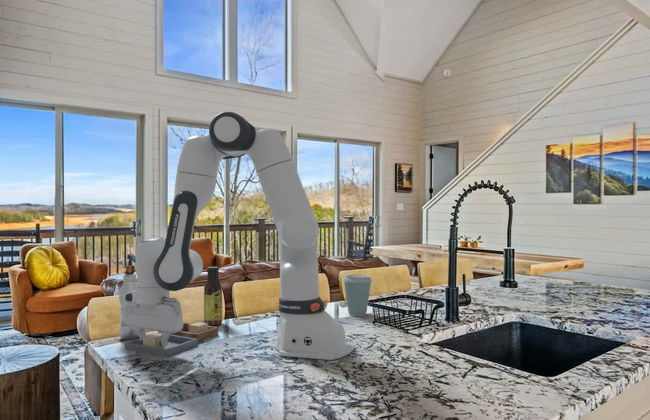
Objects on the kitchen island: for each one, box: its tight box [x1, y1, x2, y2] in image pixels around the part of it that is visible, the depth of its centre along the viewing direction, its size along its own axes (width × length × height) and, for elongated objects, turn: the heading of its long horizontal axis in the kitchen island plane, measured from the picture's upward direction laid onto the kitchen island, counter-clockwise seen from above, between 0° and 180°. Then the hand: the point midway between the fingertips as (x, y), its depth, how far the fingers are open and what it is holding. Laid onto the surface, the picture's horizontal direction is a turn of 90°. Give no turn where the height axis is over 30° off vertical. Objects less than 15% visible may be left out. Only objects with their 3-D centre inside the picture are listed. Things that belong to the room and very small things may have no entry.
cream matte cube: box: [189, 321, 209, 334], centre depth 141 cm, size 4×4×4 cm
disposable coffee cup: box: [343, 273, 372, 317], centre depth 171 cm, size 11×11×15 cm
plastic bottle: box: [118, 273, 140, 341], centre depth 142 cm, size 6×7×20 cm
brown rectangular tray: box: [170, 322, 219, 343], centre depth 143 cm, size 14×9×3 cm, turn 61°
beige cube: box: [143, 332, 164, 349], centre depth 129 cm, size 4×4×4 cm
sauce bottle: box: [203, 266, 223, 327], centre depth 160 cm, size 6×6×20 cm
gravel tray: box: [124, 332, 199, 358], centre depth 131 cm, size 16×12×2 cm
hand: (153, 344), depth 129 cm, fingers open, 6 cm apart
